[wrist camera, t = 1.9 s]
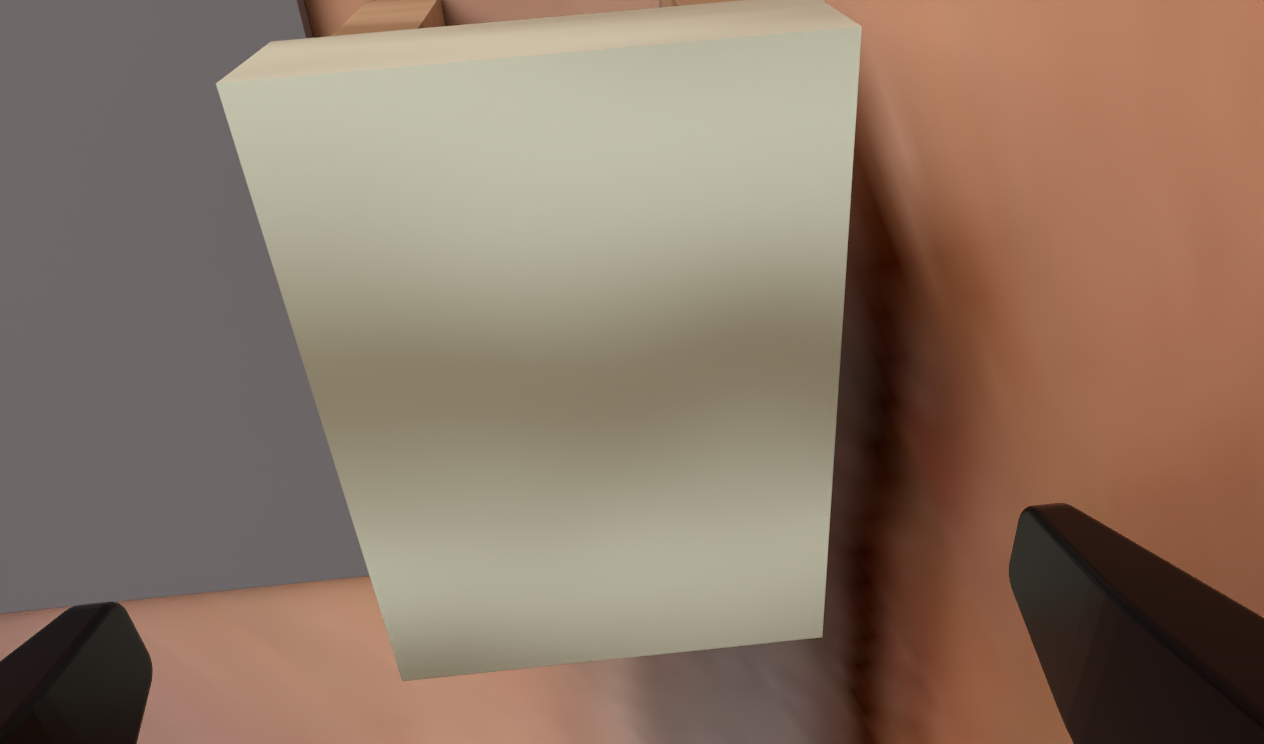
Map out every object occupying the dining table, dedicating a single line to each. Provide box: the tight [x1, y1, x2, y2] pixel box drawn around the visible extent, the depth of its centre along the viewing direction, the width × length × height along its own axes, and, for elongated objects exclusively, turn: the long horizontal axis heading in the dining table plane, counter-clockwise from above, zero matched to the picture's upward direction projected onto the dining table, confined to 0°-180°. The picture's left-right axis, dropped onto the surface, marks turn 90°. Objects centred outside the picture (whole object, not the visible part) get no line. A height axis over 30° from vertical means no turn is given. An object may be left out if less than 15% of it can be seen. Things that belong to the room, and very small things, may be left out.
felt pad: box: [0, 0, 369, 613], centre depth 17 cm, size 14×14×1 cm
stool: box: [216, 0, 862, 681], centre depth 14 cm, size 9×6×6 cm
